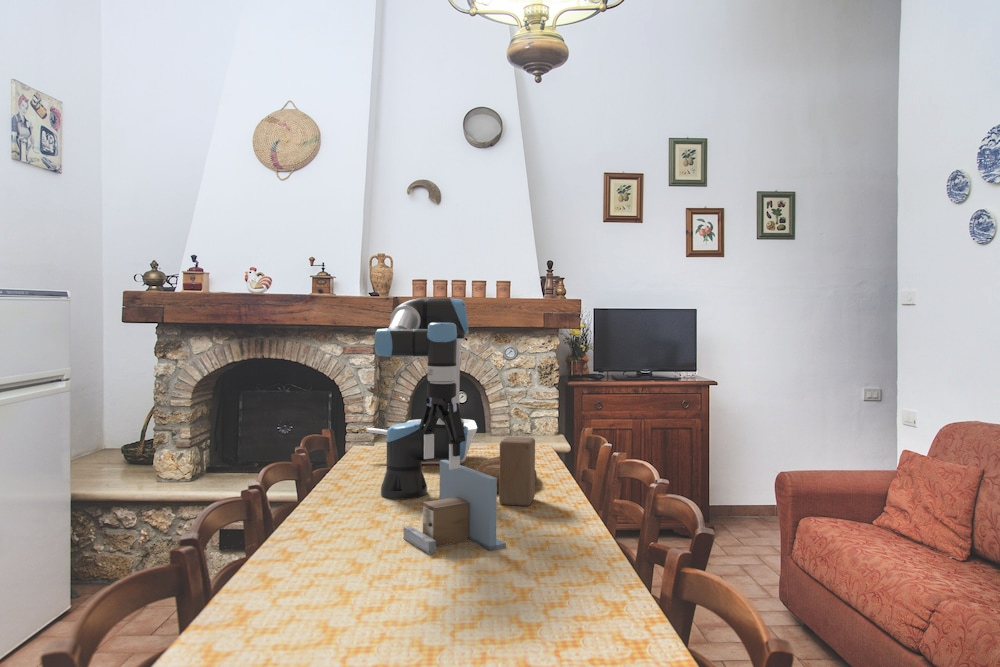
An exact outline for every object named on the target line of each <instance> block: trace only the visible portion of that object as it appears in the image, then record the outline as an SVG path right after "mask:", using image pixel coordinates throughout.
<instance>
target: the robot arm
mask: <svg viewBox="0 0 1000 667" xmlns="http://www.w3.org/2000/svg"><path fill="white" fill-rule="evenodd" d="M468 320H469V319H468V313H467V307H466V302H465V300H463V299H460V298H453V297H451V298H448V297H447V298H442V297H441V298H439V297H438V298H435V297H434V298H433V297H431V298H429V297H428V298H427V297H426V298H424V297H419V298H413V299H410V300H407V301H404V302H403V303H401V304H398V306H396V307H395V308H394V309H393V311H392V312H391V315H390V324H389V326H388V328H387V327H385V328H378V329H376V330H375V333H374V352H375V354H376V355H377V356H378V357H379V356H380V357H388V358H389V357H427V369H426V373H427V381H428V382H427V385H426V386H427V387H426V393H427V394H426V395H427V397H425V399H424V406H423V407H424V408H423V411H422V412H423V413H422V416H421V418H420V419H421V422H407V421H406V422H401V423H396V424H393V425H390V426H389V428H387V429H386V430H387V435H386V440H385V443H386V467H385V468H386V470H385V471H386V472H385V474H384V478H383V481H382V483H381V486H380V495H381V496H382V497H384V498H386V499H393V500H411V499H416V498H422V497H425V496H426V495H427V494H428V485H427V483H426V479H425V475H424V472H423V468H422V467H423V464H422V462H440V460H448V461H449V469H457V468H460V465H461V464H460V461H462V460H463V458H464V455H465V450H466V443H467V434H468V427H466V426H464V421H463V420H462V419H463V418H462V416H461V414H460V413H461V412H460V384H461V383H460V380H461V379H460V375H461V373H460V371H461V370H460V369H461V368H460V367H461V362H460V360H461V358H460V356H461V344H462V343H463V341H464V340H465V336H466V335H469V333H470V331H469V322H468ZM424 425H425V426H424Z"/></svg>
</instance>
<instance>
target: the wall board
mask: <svg viewBox="0 0 1000 667" xmlns="http://www.w3.org/2000/svg"><path fill="white" fill-rule="evenodd" d="M497 495H498V494H497V478H495V477H492V476H490V475H487V474H484V473H481V472H479V471H476V469H473V468H470V467H468V466H464V465H463V464H462V465H461V464H460V468H457V469H449V461H448V460H440V464H439V498H438V500H440V499H446V498H452V497H458V498H460V499H462V500H464V501H466V502H469V522H468V541H471V542H473V543H475V544H477V545H478V546H480V547H482V548H484V549H486V550H487V551H494V550H499V549H503V548H506V547H507V543H506V542H505V541H502V540H501V539H499V538H497V515H498V514H497V510H498V508H497V502H498V501H497V500H498V498H497Z"/></svg>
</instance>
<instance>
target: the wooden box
mask: <svg viewBox="0 0 1000 667" xmlns="http://www.w3.org/2000/svg"><path fill="white" fill-rule="evenodd" d="M468 522H469V502H466V501H464V500H462V499H460V498H458V497H452V498H446V499H440V500H439V499H435V500H428V501H423V502H422V533H424V534H425V535H427V536H429V537H431V538H432V539H434V540H436V548H439V547H441V546H446V545H451V544H457V543H460V542H462V543H463V542H466V541H469V539H468Z"/></svg>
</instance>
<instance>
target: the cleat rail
mask: <svg viewBox="0 0 1000 667" xmlns="http://www.w3.org/2000/svg"><path fill="white" fill-rule="evenodd" d="M403 539H404V540H405V541H407V542H409V543H410V544H411V545H413V546H414V547H416V548H418V549H420V550H422V551H423V552H424V553H425V554H427V555H431V554H436V553H437V551H436V550H437V547H436V540H434V539H432V538H431V537H429V536H427V535H425V534H424V533H423V531H420V530H418V529H417V528H415V527H413V526H412V525H408V526H403Z"/></svg>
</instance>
